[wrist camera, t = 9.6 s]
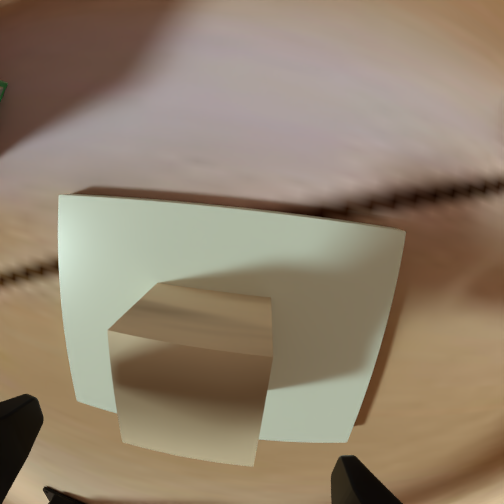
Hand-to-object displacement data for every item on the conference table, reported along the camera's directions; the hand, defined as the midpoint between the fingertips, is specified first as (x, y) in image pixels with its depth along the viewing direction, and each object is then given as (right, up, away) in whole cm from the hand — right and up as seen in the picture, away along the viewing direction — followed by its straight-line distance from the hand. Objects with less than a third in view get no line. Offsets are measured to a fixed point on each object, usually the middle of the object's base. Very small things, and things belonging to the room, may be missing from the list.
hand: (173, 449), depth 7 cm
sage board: (0, +1, +8) cm, 8 cm away
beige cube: (0, +1, +7) cm, 7 cm away
